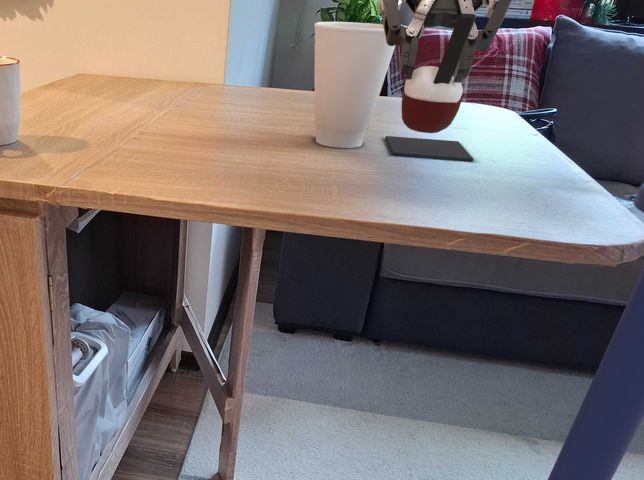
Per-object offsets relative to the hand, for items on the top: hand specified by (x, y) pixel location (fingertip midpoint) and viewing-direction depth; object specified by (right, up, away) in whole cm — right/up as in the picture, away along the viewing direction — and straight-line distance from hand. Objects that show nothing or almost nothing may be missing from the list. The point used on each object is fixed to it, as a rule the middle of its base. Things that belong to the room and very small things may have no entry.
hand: (434, 75), depth 67 cm
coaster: (+10, +1, +28) cm, 30 cm away
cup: (-3, +2, +30) cm, 30 cm away
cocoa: (+1, -4, +5) cm, 7 cm away
